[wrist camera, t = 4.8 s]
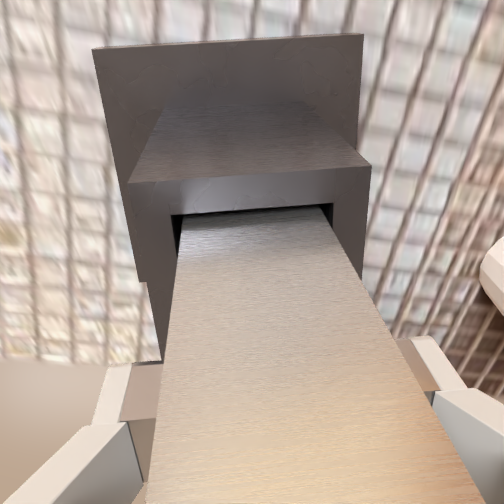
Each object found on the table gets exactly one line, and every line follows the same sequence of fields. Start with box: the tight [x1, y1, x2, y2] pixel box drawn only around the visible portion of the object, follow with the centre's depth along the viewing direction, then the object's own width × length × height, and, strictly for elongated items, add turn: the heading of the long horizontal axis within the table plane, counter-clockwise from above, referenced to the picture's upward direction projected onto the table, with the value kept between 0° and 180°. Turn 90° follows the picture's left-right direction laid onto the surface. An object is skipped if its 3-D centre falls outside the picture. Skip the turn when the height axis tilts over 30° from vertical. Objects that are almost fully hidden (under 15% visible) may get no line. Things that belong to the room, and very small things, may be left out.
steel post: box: [145, 204, 486, 504], centre depth 14 cm, size 4×4×18 cm
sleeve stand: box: [91, 33, 372, 360], centre depth 18 cm, size 12×12×12 cm
